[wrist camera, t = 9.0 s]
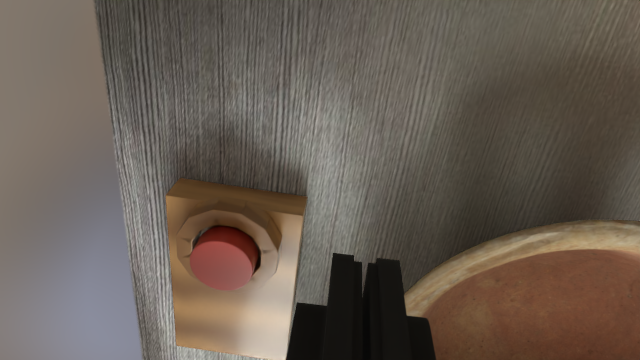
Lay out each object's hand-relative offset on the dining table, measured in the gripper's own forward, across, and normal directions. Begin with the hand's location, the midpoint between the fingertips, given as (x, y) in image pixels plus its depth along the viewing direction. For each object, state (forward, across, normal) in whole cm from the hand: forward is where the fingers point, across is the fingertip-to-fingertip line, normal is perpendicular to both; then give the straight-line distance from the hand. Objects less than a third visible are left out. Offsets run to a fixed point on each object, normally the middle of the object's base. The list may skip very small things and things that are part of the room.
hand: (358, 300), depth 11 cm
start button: (+15, +8, +11) cm, 20 cm away
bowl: (+19, -15, +15) cm, 29 cm away
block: (+19, +8, +16) cm, 26 cm away
